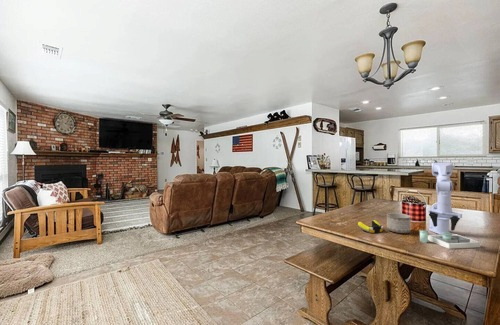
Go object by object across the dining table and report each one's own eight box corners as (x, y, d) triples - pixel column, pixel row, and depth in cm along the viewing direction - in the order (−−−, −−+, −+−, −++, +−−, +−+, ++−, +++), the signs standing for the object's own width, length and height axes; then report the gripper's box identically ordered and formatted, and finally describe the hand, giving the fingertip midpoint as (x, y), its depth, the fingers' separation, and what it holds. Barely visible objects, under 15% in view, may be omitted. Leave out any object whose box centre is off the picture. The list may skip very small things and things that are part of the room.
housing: (449, 248, 117) (449, 238, 117) (427, 239, 130) (427, 230, 130) (480, 247, 118) (480, 236, 118) (455, 238, 131) (455, 228, 131)
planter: (389, 233, 141) (389, 217, 141) (385, 227, 153) (385, 212, 153) (413, 235, 137) (413, 218, 136) (407, 229, 148) (407, 213, 148)
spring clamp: (356, 229, 150) (368, 234, 140) (356, 221, 150) (368, 225, 140) (374, 227, 154) (387, 231, 145) (374, 219, 154) (387, 223, 144)
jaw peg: (417, 240, 129) (417, 230, 129) (423, 240, 129) (424, 229, 129) (423, 243, 125) (423, 232, 125) (429, 242, 125) (429, 232, 125)
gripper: (424, 201, 127) (424, 225, 127) (458, 206, 114) (457, 233, 114) (430, 200, 130) (430, 223, 130) (463, 205, 117) (463, 230, 118)
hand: (443, 228), depth 122 cm, fingers open, 7 cm apart
